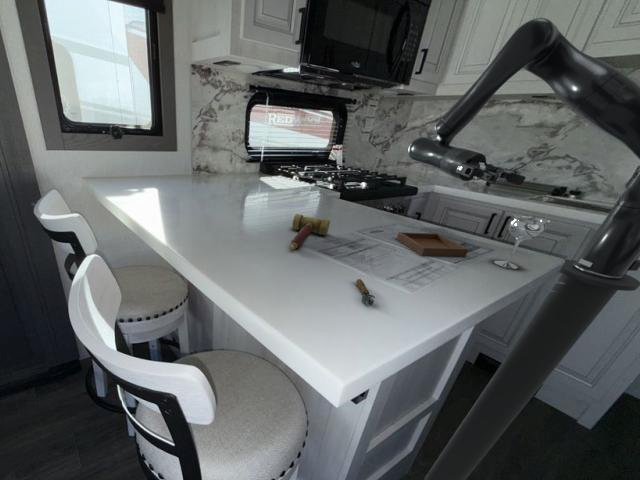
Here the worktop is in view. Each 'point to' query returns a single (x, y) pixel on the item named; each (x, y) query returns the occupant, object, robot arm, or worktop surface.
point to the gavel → (307, 228)
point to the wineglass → (524, 232)
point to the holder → (431, 244)
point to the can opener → (365, 292)
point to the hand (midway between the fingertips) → (509, 180)
